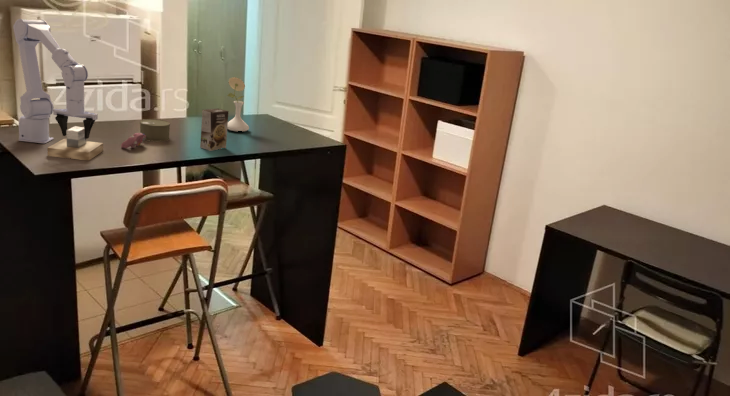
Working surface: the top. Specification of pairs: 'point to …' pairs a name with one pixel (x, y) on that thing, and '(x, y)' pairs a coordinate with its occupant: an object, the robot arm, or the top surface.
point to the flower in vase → (237, 107)
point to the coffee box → (214, 129)
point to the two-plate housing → (76, 137)
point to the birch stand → (75, 150)
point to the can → (155, 129)
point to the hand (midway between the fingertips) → (76, 136)
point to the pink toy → (134, 140)
